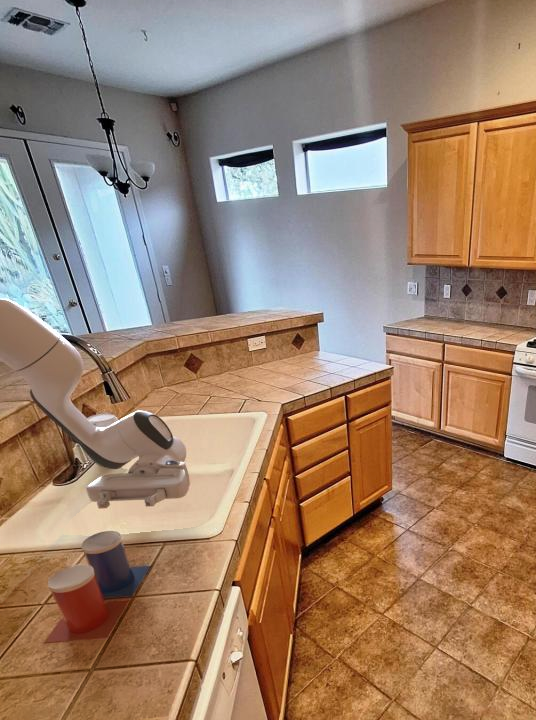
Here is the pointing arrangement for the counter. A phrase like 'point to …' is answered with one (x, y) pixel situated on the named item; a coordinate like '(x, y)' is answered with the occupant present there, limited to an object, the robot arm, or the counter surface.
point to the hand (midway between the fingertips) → (125, 504)
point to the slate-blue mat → (130, 589)
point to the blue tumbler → (108, 560)
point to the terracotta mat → (102, 631)
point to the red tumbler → (79, 598)
